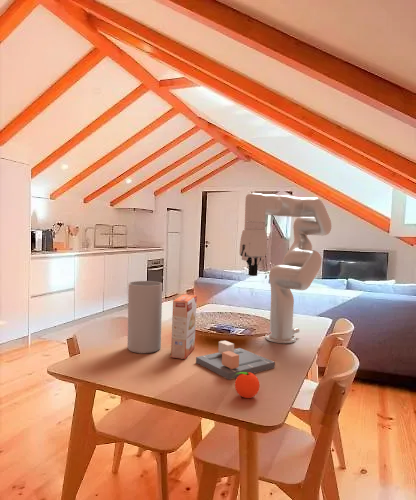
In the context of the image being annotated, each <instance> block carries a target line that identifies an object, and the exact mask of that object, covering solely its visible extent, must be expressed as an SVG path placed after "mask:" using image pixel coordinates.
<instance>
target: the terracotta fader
mask: <svg viewBox="0 0 416 500" xmlns="http://www.w3.org/2000/svg"><path fill="white" fill-rule="evenodd" d="M222 365H224V366H226V367H228V368H230V369H234V368H238V367H239V355H238V354H235V353H233V352H231V351H226V352H222Z"/></svg>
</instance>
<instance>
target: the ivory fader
mask: <svg viewBox="0 0 416 500" xmlns="http://www.w3.org/2000/svg"><path fill="white" fill-rule="evenodd" d="M234 349H235V343H233V342H230V341H228V340H220V341H218V350H217V351H218V352H217V353H220V354H222V352H226V351H231V352H233V353H234Z"/></svg>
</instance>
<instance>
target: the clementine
mask: <svg viewBox="0 0 416 500" xmlns="http://www.w3.org/2000/svg"><path fill="white" fill-rule="evenodd" d="M237 374H240V375H239V376H238V377H237V378H235V382H234V389H235V391H236V393H237V395H239V396H240V397H242V398H244V399H252V398H253V397H256V395H257V394H258V392H260V387H261V386H260V385H261V384H260V380H259V378H258V377H257V376H256V374H255V373H250V372H239V373H237ZM235 375H236V374H235ZM233 377H234V376H233Z"/></svg>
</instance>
